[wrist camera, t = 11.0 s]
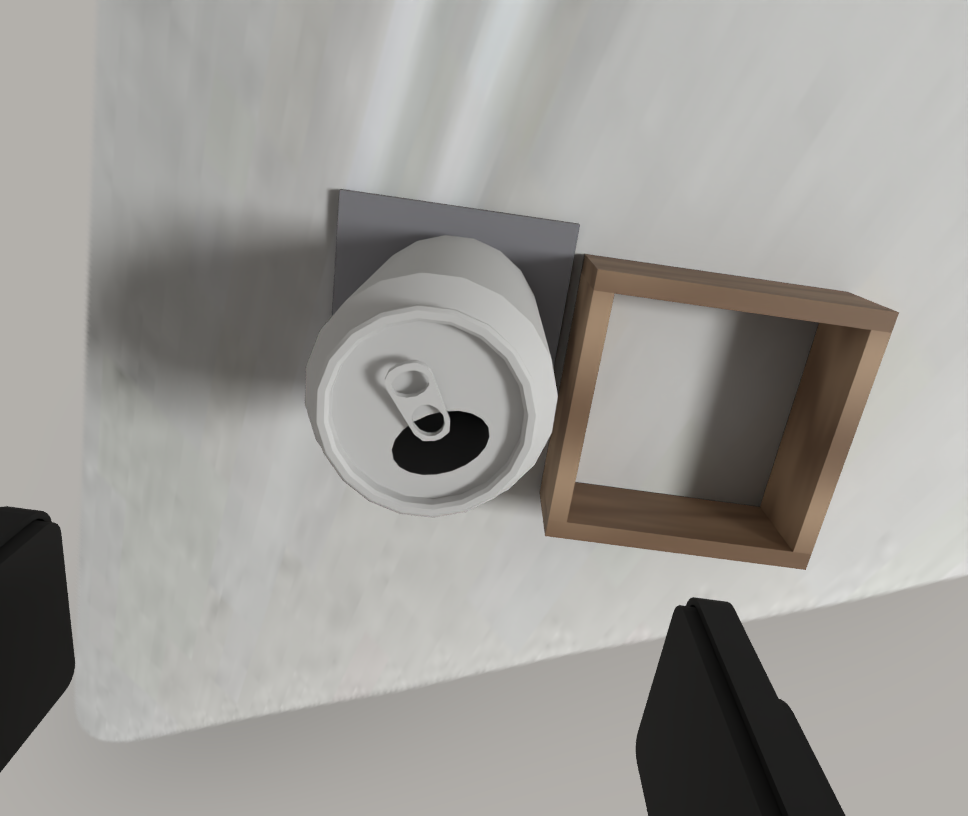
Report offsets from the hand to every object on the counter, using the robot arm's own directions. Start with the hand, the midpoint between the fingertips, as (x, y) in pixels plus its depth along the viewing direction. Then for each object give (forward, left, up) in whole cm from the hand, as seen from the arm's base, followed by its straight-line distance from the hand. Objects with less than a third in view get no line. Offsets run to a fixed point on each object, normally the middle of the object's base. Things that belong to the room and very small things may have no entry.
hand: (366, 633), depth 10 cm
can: (0, 0, -21) cm, 21 cm away
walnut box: (+2, +11, -21) cm, 24 cm away
